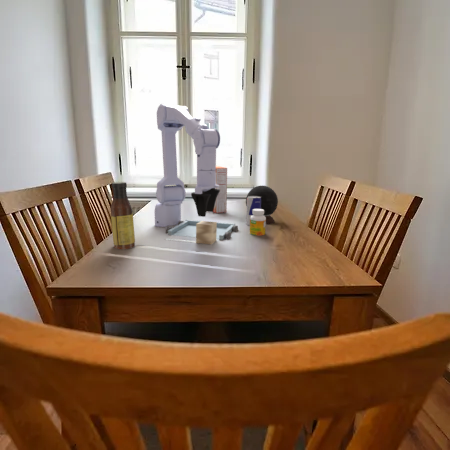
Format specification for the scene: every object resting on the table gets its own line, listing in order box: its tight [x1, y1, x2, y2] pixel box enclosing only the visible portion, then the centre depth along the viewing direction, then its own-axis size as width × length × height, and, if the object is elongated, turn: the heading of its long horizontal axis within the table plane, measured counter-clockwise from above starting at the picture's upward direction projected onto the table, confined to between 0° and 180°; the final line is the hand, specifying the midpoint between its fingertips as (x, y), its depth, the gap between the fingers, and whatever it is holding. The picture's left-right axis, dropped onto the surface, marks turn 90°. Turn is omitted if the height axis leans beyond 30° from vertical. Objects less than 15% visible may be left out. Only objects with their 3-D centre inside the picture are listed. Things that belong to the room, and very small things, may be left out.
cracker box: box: [212, 165, 228, 214], centre depth 161 cm, size 14×6×21 cm, turn 25°
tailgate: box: [164, 237, 215, 245], centre depth 108 cm, size 16×2×5 cm
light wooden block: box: [195, 220, 217, 245], centre depth 106 cm, size 5×5×6 cm
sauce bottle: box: [110, 181, 136, 250], centre depth 101 cm, size 7×6×20 cm
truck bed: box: [165, 219, 239, 241], centre depth 118 cm, size 22×18×3 cm
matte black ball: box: [245, 185, 279, 225], centre depth 141 cm, size 13×13×15 cm
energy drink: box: [245, 196, 261, 227], centre depth 130 cm, size 5×5×12 cm
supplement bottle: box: [249, 209, 267, 237], centre depth 117 cm, size 5×5×10 cm
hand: (205, 213), depth 107 cm, fingers open, 7 cm apart
